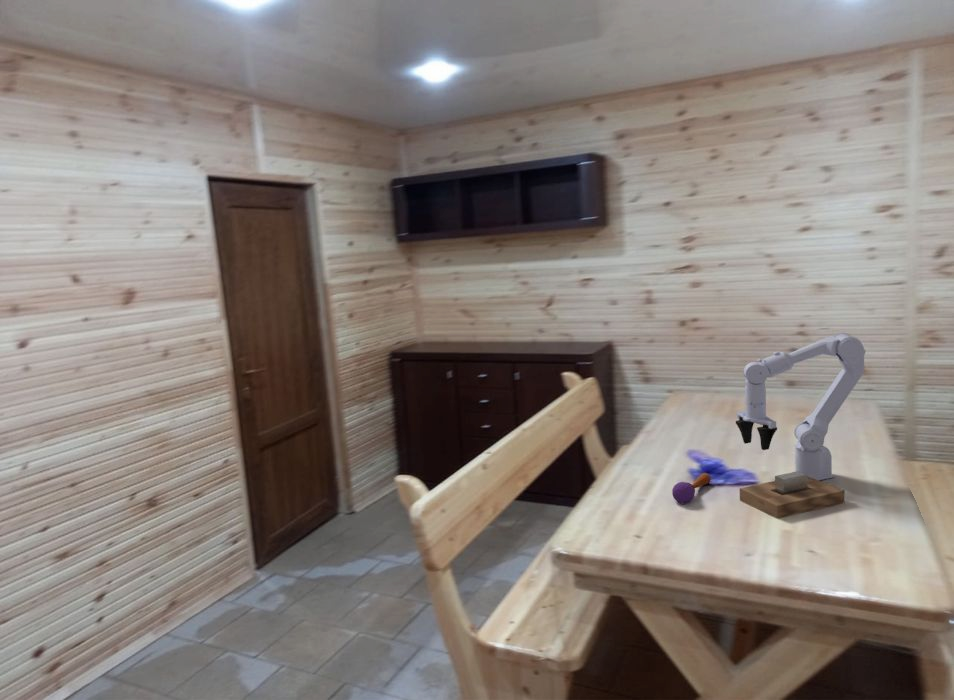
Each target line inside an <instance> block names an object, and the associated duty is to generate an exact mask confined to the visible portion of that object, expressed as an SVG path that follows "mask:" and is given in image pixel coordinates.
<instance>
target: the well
mask: <svg viewBox="0 0 954 700" xmlns="http://www.w3.org/2000/svg"><path fill="white" fill-rule="evenodd" d="M845 494H846V493H845V489H842V488H839V487H836V486H834V485H831V484H829V483H827V482H824V481H822V480H816V479H813V478H811V477H808V476H807V490H804V491H800V492H795V493H791V494H786V495H780V494H778V493H776V492H775V480H772V481H768V482H763V483H758V484H754V485H748V486H745V487H744V486H743V487H740V488H739V501H740V502H742V503H745V504H747V505H749V506H751V507H753V508H755V509H757V510H759V511H760V512H763V513H764V514H767V515H769V516H771V517H773V518H774V519H778V520H779V519H782V518H785V517H790V516H795V515H799V514H803V513H807V512H812V511H816V510H821V509H824V508H829V507H833V506H837V505H842V504H845Z"/></svg>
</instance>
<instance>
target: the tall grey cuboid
mask: <svg viewBox="0 0 954 700" xmlns="http://www.w3.org/2000/svg"><path fill="white" fill-rule="evenodd" d="M774 481H775V492H776V493H778V494H780V495H786V494H791V493H795V492H800V491H804V490H807V474H805V473H803V472H800V471H797V472H796V471H793V472H788V473H783V474H779V475H778V474H777V475H775V477H774Z"/></svg>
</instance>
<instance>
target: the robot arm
mask: <svg viewBox="0 0 954 700" xmlns="http://www.w3.org/2000/svg"><path fill="white" fill-rule="evenodd" d="M821 355H826V356H832V357H837V358H838V362H839V364H840V366H841V370H840V371H839V372H838V374H837V375H836V377H835V379H834V380H833V381H832V383H831V385H830V387H828V389H827V390H826V392H825V394H824V395H823V396H822V398H821V400H820V401H819V403H818V404H817V406H816V407H815V409H814V410H813V412H812V413H811V414H809V415H807V417H806V418H805V419H804V420H803V421H802V422H800V423H798V424H797V425H796V426H795V428H794V431H793V432H794V437H795V438H796V439H797V442H796V444H795V448H794V451H795V453H794V454H795V460H794V461H795V463H794V464H795V466H794V467H795V472H797V471H800V472H803V473H805V474H807V476H808V477H811V478H813V479H816V480H819V481H823V480H827V479H831V478H834V477H835V475H833V474H832V469H833V468H832V467H833V466H832V465H833V464H832V463H833V462H832V460H833V459H832V453H831V451H830V449H829V448H828V447H826V446H825V445H824V443H825V438H826V435H827V434H828V430H829V425H830V423H831V421H832V420H833V419H834V417H835V416H836V414H837V413H838V411H839V410H840V408H841V407H842V405H843V404H844V402H845V401H846V399H847V398H848V396H849V395H850V394H851V393H852V390H853V389H854V387H855V386H856V385H857V383H858V382H859V380H860V379H861V377H862V376H863V375H864V373H865V355H866V349H865V348H864V345H863V343H862V342H861V340H860V339H859V338H858V337H854V336H851V335H850V334H848V333H845V332H840V333H837V334H835V335H829V336H827V337H824V338H822V339H819V340H817V341H815V342H812V343H811V344H808V345H806V346H804V347H801V348H799V349H796V350H794V351H792V352H790V353H788V352H785V351H781V352H779V351H774V352H773V354H772V355H771V356H768V357H765V358H763V359H762V358H758V359H757V362H755V361H751V362H749V363H747V364H746V365H745V366H744V369H743V371H742V373H743V376H744V377H745V381H744V385H745V387H744V404H745V407H744V408H745V409H744V410H745V411H742V410H741V411H737V412H736V419H738V420H735V425H737V428H738V430H739V432H740V434H741V438H742V441H743V444H750V443H752V438H753V435H752V434H753V428H754V424H758V425H761V426H758V427H756V430H757V432H758V434H759V439H760V448H761V450H762V451H766V450H769V449H770V446H771V442H772V440H773V438H774V435H775V433H777V432H776V431H778V426H777V421H776V420H774V419H771V418H770V417H768V416H767V395H766V394H767V390H766V389H767V388H766V381H767V379H768V378H773V377H775V376H778V375H780V374H783V373H786V372H788V371H790V370H792V369H793V366H794V365H795V364H797V363H801V362H803V361H807V360H809V359H812V358H815V357H818V356H821Z"/></svg>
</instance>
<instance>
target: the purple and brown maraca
mask: <svg viewBox="0 0 954 700" xmlns="http://www.w3.org/2000/svg"><path fill="white" fill-rule="evenodd" d="M710 480H711V481H712V478H711V475H710V474H709V473H706V472H704V473H701V474H700V475H699V476H698V477H697V478H696V480H694V481H693V483H692V484H691V483H690V482H686V481H680V482H677V483H675V484H674V485H673V487H672V490H671V493H672V497H673V499H674V500H675V501H676V502H677V503H679V504H683V505H686V504H689V503H691V502H692V501H693V500H694V497H695V493H696V490H695V489H696V488H699V487H703V486H705V485H708V483H709V482H710V483H711V481H710ZM710 483H709V484H710Z"/></svg>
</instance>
